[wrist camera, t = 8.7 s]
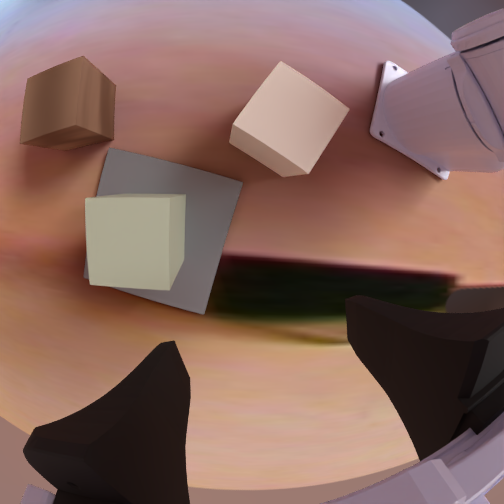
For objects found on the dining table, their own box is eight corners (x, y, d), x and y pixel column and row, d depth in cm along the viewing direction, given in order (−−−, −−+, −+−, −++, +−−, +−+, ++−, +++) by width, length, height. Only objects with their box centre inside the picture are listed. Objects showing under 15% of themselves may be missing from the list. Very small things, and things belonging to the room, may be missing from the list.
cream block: (314, 128, 18) (349, 109, 13) (282, 177, 19) (308, 173, 13) (263, 94, 17) (280, 60, 12) (229, 142, 18) (232, 124, 12)
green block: (186, 194, 18) (170, 197, 12) (184, 259, 19) (169, 290, 13) (124, 193, 17) (85, 198, 11) (124, 256, 18) (89, 284, 12)
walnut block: (116, 85, 16) (83, 55, 10) (114, 139, 17) (75, 124, 11) (68, 99, 15) (27, 78, 10) (65, 150, 16) (20, 143, 11)
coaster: (242, 182, 19) (243, 182, 18) (204, 311, 21) (204, 314, 20) (112, 148, 17) (109, 147, 16) (86, 275, 19) (83, 277, 18)
